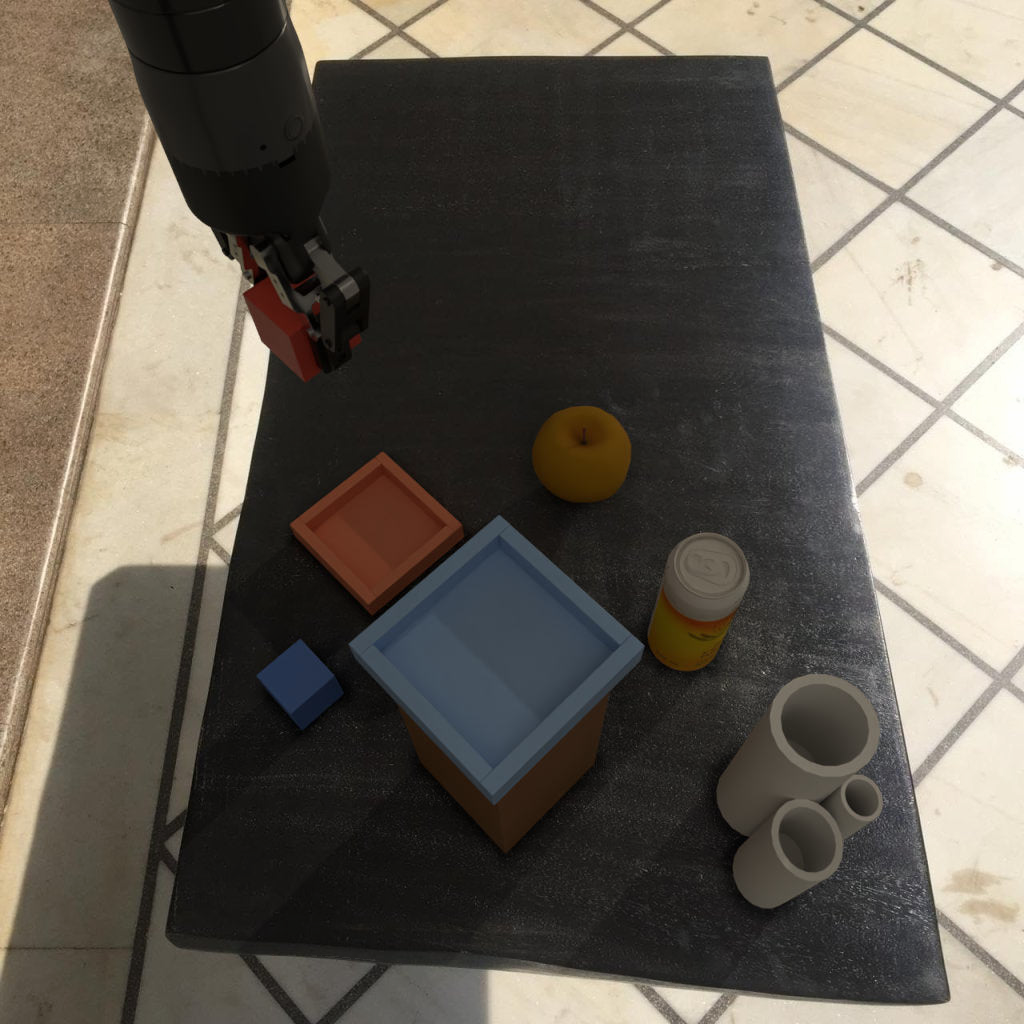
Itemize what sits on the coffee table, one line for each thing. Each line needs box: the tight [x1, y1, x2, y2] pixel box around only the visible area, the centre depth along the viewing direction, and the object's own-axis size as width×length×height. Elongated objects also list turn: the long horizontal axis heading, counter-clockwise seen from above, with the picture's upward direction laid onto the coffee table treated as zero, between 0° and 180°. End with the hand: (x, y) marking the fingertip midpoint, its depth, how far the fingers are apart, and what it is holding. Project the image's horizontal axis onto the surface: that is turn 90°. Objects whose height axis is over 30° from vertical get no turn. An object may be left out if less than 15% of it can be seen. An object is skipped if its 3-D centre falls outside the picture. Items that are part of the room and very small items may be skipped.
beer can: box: [647, 532, 751, 672], centre depth 77 cm, size 6×6×15 cm
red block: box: [242, 273, 362, 383], centre depth 59 cm, size 4×4×4 cm
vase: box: [715, 673, 884, 909], centre depth 67 cm, size 11×7×20 cm, turn 8°
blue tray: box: [348, 514, 645, 854], centre depth 67 cm, size 12×12×26 cm
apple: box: [531, 405, 632, 504], centre depth 87 cm, size 9×9×9 cm
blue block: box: [256, 638, 344, 731], centre depth 80 cm, size 4×4×4 cm
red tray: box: [289, 451, 465, 616], centre depth 87 cm, size 11×11×2 cm
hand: (309, 338), depth 60 cm, fingers closed on red block, 4 cm apart
